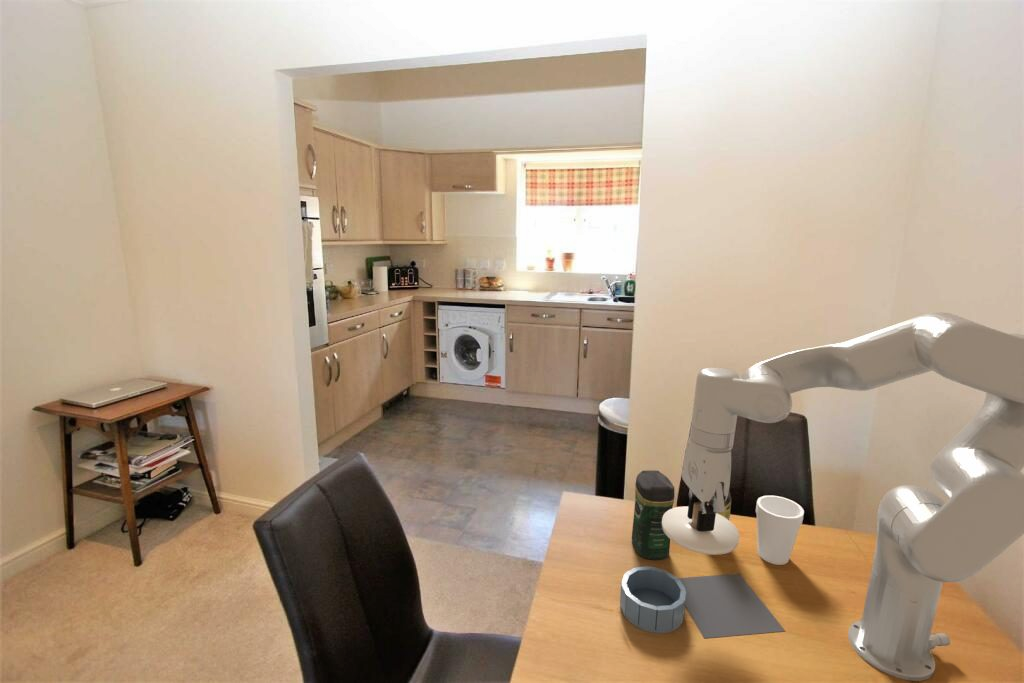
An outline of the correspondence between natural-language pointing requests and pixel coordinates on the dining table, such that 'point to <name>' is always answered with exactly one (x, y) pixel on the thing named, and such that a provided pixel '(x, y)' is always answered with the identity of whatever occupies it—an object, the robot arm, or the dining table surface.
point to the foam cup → (777, 528)
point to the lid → (699, 532)
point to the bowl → (652, 599)
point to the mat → (727, 607)
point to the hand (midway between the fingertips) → (700, 523)
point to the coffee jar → (651, 514)
